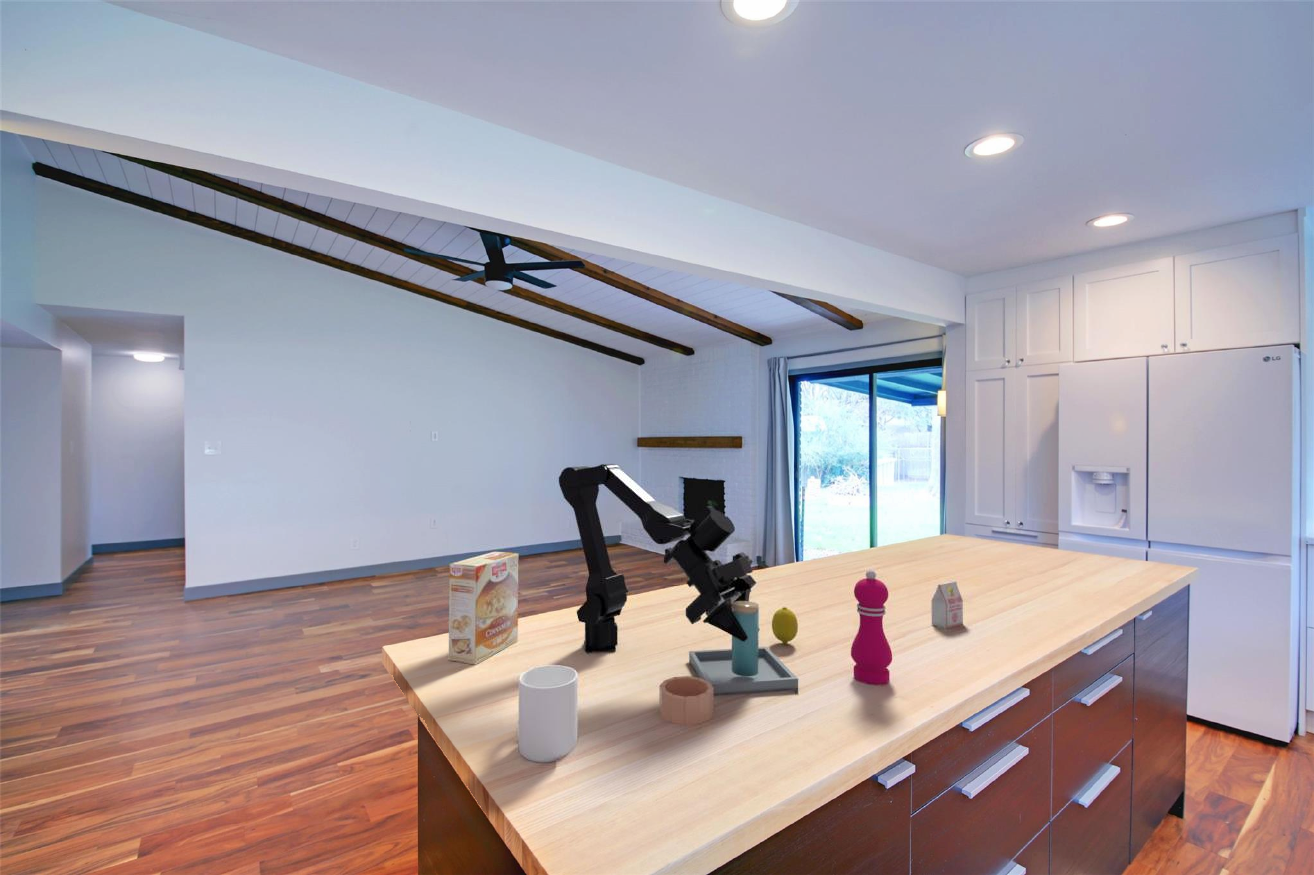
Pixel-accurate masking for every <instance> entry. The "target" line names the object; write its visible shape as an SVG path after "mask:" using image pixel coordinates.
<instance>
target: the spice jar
mask: <svg viewBox="0 0 1314 875" xmlns="http://www.w3.org/2000/svg"><path fill="white" fill-rule="evenodd" d="M759 608H760V606H759V604H758V602H754V601H750V600H749V601H736V602H733V603H732V612H733V614H734V616H735V617H736V619H737V620H738V622H739V623H740V625H741V626H742V628H743V630H744V631H745V633H746V635H747V637H748V639H747V640H745V641H744V642H743V641H741V640H739V639H738V638H736V637H734V636H732V635H731V649H732V672H733V673H734V674H736V675H740V676H754V675H757V674H758V655H759V647H760V646H759V641H760V640H759V638H760V637H759V634H760V630H759V629H760V627H759V620H760V618H759V614H760V612H759V610H760V609H759Z"/></svg>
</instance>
